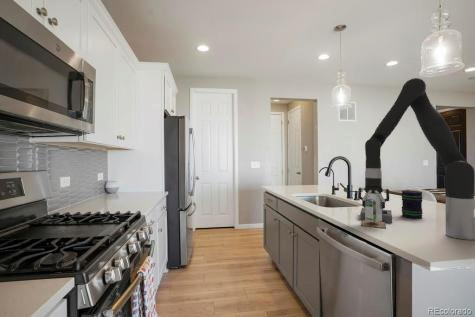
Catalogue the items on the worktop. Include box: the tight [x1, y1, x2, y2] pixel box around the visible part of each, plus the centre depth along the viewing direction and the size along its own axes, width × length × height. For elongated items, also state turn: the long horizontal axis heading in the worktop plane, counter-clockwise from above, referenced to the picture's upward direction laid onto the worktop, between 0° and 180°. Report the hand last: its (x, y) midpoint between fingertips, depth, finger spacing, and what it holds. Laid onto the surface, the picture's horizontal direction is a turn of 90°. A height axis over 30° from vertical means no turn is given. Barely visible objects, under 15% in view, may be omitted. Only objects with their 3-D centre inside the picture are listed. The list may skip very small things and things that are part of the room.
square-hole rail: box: [359, 207, 393, 224], centre depth 137 cm, size 15×15×4 cm
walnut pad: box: [360, 220, 387, 230], centre depth 125 cm, size 11×11×1 cm
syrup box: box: [364, 192, 383, 223], centre depth 125 cm, size 6×6×14 cm
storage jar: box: [401, 189, 423, 220], centre depth 140 cm, size 10×10×15 cm
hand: (373, 208), depth 125 cm, fingers open, 7 cm apart
